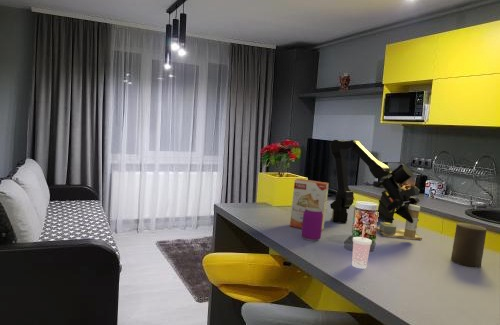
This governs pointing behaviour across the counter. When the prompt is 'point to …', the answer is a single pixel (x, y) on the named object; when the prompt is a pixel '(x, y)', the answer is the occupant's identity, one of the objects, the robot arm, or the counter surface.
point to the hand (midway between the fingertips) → (415, 221)
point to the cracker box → (308, 199)
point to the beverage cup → (360, 251)
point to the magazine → (385, 208)
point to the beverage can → (312, 224)
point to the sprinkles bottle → (411, 227)
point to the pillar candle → (468, 245)
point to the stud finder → (387, 227)
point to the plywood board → (398, 234)
